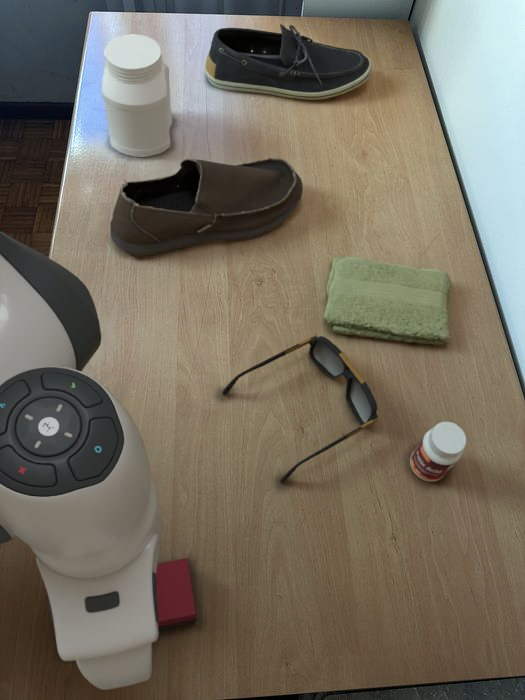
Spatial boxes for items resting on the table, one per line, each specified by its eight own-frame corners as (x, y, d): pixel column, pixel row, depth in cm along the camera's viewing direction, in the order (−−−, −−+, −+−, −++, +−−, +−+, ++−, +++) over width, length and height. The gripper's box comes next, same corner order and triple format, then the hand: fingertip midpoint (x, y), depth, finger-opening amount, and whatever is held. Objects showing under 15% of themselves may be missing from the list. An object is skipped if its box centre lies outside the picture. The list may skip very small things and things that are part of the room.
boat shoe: (369, 107, 117) (381, 61, 109) (203, 96, 115) (202, 48, 107) (365, 68, 123) (376, 21, 115) (206, 57, 121) (206, 9, 113)
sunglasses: (221, 395, 85) (222, 376, 81) (318, 345, 90) (323, 325, 86) (280, 484, 80) (284, 469, 76) (380, 426, 85) (389, 408, 80)
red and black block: (62, 650, 69) (55, 644, 65) (59, 590, 72) (52, 582, 68) (196, 621, 71) (196, 615, 68) (188, 565, 74) (187, 556, 71)
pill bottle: (402, 466, 82) (420, 438, 75) (422, 439, 84) (442, 410, 77) (434, 490, 81) (456, 465, 74) (454, 462, 83) (477, 435, 76)
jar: (115, 108, 112) (103, 25, 99) (172, 110, 113) (168, 28, 100) (109, 156, 106) (95, 74, 93) (169, 158, 107) (163, 78, 94)
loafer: (314, 219, 102) (324, 167, 93) (130, 280, 94) (121, 230, 85) (282, 172, 107) (289, 119, 98) (104, 226, 99) (93, 173, 90)
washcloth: (329, 260, 98) (332, 246, 96) (447, 279, 98) (454, 266, 95) (320, 333, 91) (323, 320, 89) (446, 354, 91) (454, 342, 88)
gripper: (44, 397, 51) (76, 463, 63) (59, 686, 41) (94, 700, 53) (126, 384, 52) (143, 451, 64) (161, 663, 42) (173, 682, 54)
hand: (121, 566), depth 59 cm, fingers open, 8 cm apart
